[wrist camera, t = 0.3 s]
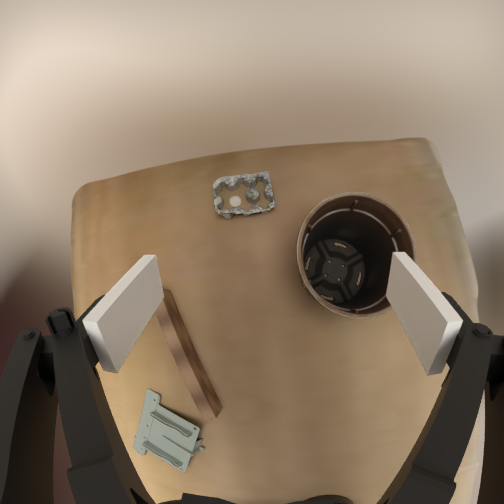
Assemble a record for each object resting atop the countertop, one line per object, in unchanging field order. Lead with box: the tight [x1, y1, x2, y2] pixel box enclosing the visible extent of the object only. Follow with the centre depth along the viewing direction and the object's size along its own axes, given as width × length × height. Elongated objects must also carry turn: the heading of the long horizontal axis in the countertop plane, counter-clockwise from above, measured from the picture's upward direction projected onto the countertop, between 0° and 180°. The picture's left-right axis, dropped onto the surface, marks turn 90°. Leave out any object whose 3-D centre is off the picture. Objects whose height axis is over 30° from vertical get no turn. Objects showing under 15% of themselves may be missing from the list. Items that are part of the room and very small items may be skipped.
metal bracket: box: [133, 389, 205, 473], centre depth 45 cm, size 14×6×15 cm
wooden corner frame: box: [155, 289, 222, 422], centre depth 46 cm, size 23×20×6 cm
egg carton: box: [213, 172, 275, 220], centre depth 52 cm, size 11×8×4 cm
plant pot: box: [297, 192, 417, 319], centre depth 42 cm, size 16×16×16 cm
